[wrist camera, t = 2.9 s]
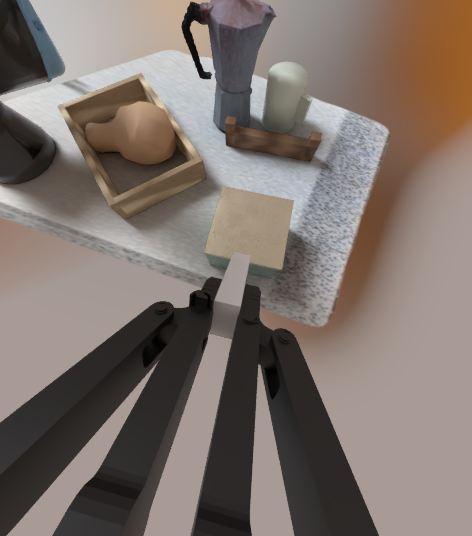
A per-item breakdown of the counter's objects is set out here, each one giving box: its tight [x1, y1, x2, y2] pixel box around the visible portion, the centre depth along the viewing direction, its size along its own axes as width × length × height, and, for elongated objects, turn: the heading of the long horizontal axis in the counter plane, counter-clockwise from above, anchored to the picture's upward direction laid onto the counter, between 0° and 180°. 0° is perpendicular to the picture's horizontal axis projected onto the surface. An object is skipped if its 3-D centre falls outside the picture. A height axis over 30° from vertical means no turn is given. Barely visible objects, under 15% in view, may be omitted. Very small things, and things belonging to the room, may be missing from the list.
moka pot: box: [182, 0, 276, 131], centre depth 36 cm, size 10×15×20 cm, turn 103°
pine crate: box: [58, 73, 206, 220], centre depth 41 cm, size 28×19×5 cm
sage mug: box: [262, 62, 313, 134], centre depth 42 cm, size 10×8×9 cm
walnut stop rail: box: [225, 116, 322, 162], centre depth 41 cm, size 20×2×5 cm, turn 77°
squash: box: [85, 101, 177, 164], centre depth 39 cm, size 11×20×9 cm, turn 84°
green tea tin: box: [204, 186, 294, 278], centre depth 34 cm, size 12×12×8 cm
